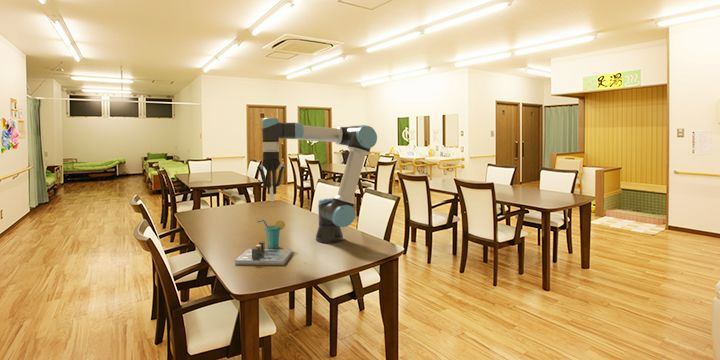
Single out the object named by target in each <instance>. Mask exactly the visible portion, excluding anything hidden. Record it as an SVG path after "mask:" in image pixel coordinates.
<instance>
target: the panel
mask: <svg viewBox="0 0 720 360" xmlns="http://www.w3.org/2000/svg"><path fill="white" fill-rule="evenodd" d="M265 243H266V242H265V241H259V242H258V245H261V254H258V248H255V247H253V248H247V249H246V250H245V251H244V252H243V253H241V254H240V255H239V256H238V257H237V258H235V260H234V265H239V266H241V265H242V266H243V265H245V266H250V265H251V266H255V265H256V266H285V264H287V262H288V260H289V259H290V257H291V256H292V255H293V249H288V248H287V249H285V248H284V249H283V248H282V249H281V248H279V249H278V248H275V249H270V248H265V247H266V246H265Z"/></svg>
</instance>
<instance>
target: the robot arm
mask: <svg viewBox="0 0 720 360" xmlns="http://www.w3.org/2000/svg"><path fill="white" fill-rule="evenodd" d="M261 133H262V151H263V152H262V162H261V164H260V165H258V166H257V167H256V168H257V170H258V171H259V173H260V174H259V175H260V177H261V182H262V185H263V186H264V187H266V188H267V195H269V202H274V201H275V195H277V187H279V186H281V183H282V178H283V173H284V171H285V169H286V166H285V165H283V164H282V163H281V161H280V152H279V150H280V139H281V140H282V139H286V140H299V141H301V140H302V141H313V142H326V143H328V142H329V143H335V144H336V145H341V146H346V147H347V148H348V150H349V153H348V157H347V160H346V163H345V167H344V171H343V175H342V178H341V181H340V184H339V187H338V190H337V195H335V196H333V197H331V198H320V199H319V200H318V209H317V210H318V228H317V231H316V234H315V241H316V242H318V243H324V244H329V243H330V244H331V243H333V244H334V243H338V242H342V241H344V234H343V231H342V228H344V227H348V226H350V225H351V224H352V223H353V222H354V221H355V219H356V211H355V205H356V204H355V201H354V198H355V194H356V190H357V186H358V184H359V180H360V176H361V173H362V169H363V166H364V163H365V159H366V156H367V155H369V154H370V152H371V148H373V147H374V146H376V144H377V141H378V135H377V132H376V130H375V129H374V127H372V126H370V125H364V124H363V125H351V126H337V127H336V128H335V127H327V126H326V127H323V126H315V125H314V126H313V125H312V126H311V125H303V124H302V123H301V122H280V121H279V119H278V118H277V117H265V118H263V119H262V121H261ZM264 169H265V171H266V175H265V171H264ZM278 169H279V170H278ZM277 170H278V171H279V172H278V175H277ZM277 176H278V177H277Z"/></svg>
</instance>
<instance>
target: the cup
mask: <svg viewBox="0 0 720 360" xmlns="http://www.w3.org/2000/svg"><path fill="white" fill-rule="evenodd" d="M261 222H262V223H264V226H265V228H264V230H265V232H266V233H265V235H266V242H267V249H278V248H279V245H280V231H281V230H283V229H285V226H286V223H285V222H284V221H283V220H281V219H279V220H276V221H275V223H274V225H268V224H267V221H266V219H265V220H264V219H260V220H257V221H256V223H261Z"/></svg>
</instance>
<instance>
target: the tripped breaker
mask: <svg viewBox="0 0 720 360" xmlns="http://www.w3.org/2000/svg"><path fill="white" fill-rule="evenodd" d="M254 248H258V254H261V245H259V244H256V245H255V247H254Z"/></svg>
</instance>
